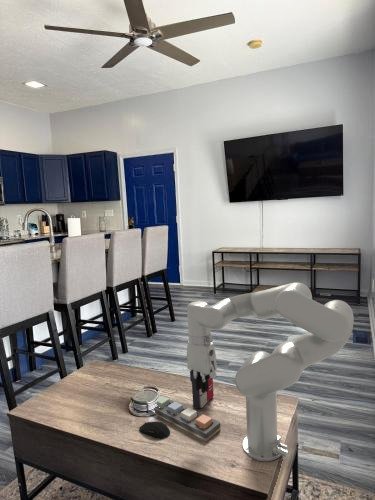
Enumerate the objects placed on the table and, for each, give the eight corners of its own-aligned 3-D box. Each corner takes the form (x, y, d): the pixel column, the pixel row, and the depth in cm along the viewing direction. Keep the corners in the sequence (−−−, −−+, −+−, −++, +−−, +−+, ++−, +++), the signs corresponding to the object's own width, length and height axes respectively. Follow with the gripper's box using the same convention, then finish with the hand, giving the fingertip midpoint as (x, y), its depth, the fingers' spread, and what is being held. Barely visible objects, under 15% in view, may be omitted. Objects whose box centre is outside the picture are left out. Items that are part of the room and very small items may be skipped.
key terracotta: (212, 423, 124) (211, 418, 124) (204, 429, 121) (204, 423, 121) (203, 419, 127) (203, 414, 126) (196, 424, 124) (195, 419, 123)
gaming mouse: (138, 422, 132) (138, 412, 131) (173, 432, 125) (173, 421, 124) (128, 432, 126) (127, 421, 126) (164, 443, 119) (163, 431, 119)
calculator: (201, 410, 137) (199, 373, 135) (191, 407, 139) (189, 370, 137) (214, 397, 146) (213, 362, 144) (205, 394, 148) (203, 360, 146)
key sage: (169, 403, 138) (169, 398, 138) (162, 408, 135) (161, 403, 135) (162, 400, 141) (162, 395, 140) (155, 404, 138) (154, 400, 138)
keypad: (220, 429, 124) (220, 422, 124) (206, 441, 118) (205, 433, 118) (162, 402, 144) (162, 396, 143) (148, 411, 138) (147, 405, 138)
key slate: (182, 409, 133) (182, 404, 133) (175, 414, 130) (175, 409, 130) (175, 406, 136) (174, 401, 136) (167, 411, 133) (167, 406, 133)
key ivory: (196, 416, 129) (196, 411, 128) (189, 421, 126) (189, 416, 125) (188, 412, 131) (188, 407, 131) (181, 417, 128) (181, 412, 128)
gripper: (225, 339, 118) (227, 392, 120) (189, 330, 128) (192, 379, 130) (211, 347, 112) (213, 402, 114) (175, 337, 123) (178, 387, 125)
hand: (202, 389), depth 122 cm, fingers closed
